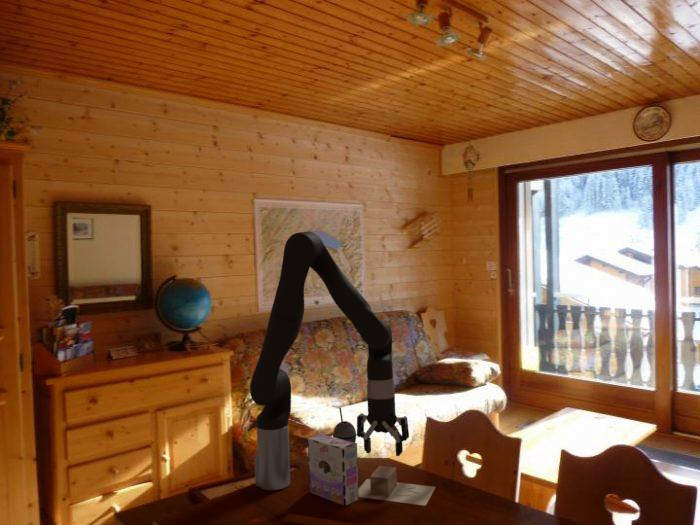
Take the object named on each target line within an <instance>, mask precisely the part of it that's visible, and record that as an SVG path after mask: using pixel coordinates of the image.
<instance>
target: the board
mask: <svg viewBox="0 0 700 525" xmlns="http://www.w3.org/2000/svg"><path fill="white" fill-rule="evenodd" d="M435 489H436V486H429V485H421V484H414V483H405V482H398V481H397V486H396V487H395V489H394V490H393V492H392V493H391V495H390V496H389V497H383V496H376V495H371V485H370V478H366V479H365V481H364V482H363V483H362V484H361V485H360V486H359V487H358V491H359V498H364V499H373V500H379V501H386V502H387V501H388V502H394V503H402V504H410V505H419V506H424V507H425V506H427V504H428V503H429V500H430V499H431V496H432V495H433V493H434V491H435Z"/></svg>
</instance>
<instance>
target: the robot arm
mask: <svg viewBox="0 0 700 525" xmlns="http://www.w3.org/2000/svg"><path fill="white" fill-rule="evenodd" d="M310 268H311V270H313V271H314V272H315V273H316V275H318V276H319V278H320V279H321V281H322V282H323V283H324V285H325V288H326V289H327V291H328V293H329V295H330V297H331V298H332V301H333V302H334V304H335V305H337V307H338V308H339V310H341V312H342V313H343V315H344V316H345V317H346V318H347V319H348V320H349V321H350V322H351V323H352V324H353V327H354V328H355V330H356V331H357V333H358V334H359V336H360V338H362V340H363V341H364V342H365V343H366V345H367V349H368V350H367V352H368V357H367V362H366V372H367V373H366V376H367V381H366V383H367V384H366V396H367V397H366V398H367V414H365V413H359V415H357V416H356V434H357V436H356V437H358V438H361V439H363V450H364V452H365V453H366V454H370V453H371V452H372V440H371V436H372V434H373V433H374V431H375V433H383V434H387V433H388V434H390V436H391V437H392V438H393V439H394V440H395V455H396V457H400V456H401V454H403V442H405V441H407V440H408V439H409V438H410V432H409V421H408V417H407V415H404V416H401V417H399V416H397V414H396V399H395V398H396V397H395V395H396V390H395V384H394V372H393V368H394V367H393V359H392V356H393V355H392V354H393V331H392V329H391V326H390V325H389V324H388V323H387V322H385V321H383V320H380V319H379V317H377V315H376V314H375V313H374V311H373V310H372V307H371V304H369V302H368V301H367V300H366V298H364V296H363V295H362V293H360V292H359V291H358V289H357V288H356V287H355V286H354V285H353V283H352V282H351V281H350V280H349V279H348V278H347V276H346V275H345V273H343V271H342V269H340V266H338V264H337V262H336V261H335V260H334V258H333V256H332V255H331V253H330V251H329V250H328V248H327V247H326V244H325V243H324V241H323V240H322V239H321V237H320V236H319V235H318V234H317V233H315V232H312V231H299V232H296V233H293V234H292V235H290V236H289V237H288V239H287V240H286V242H285V244H284V249H283V256H282V264H281V269H280V277H279V281H278V284H277V287H276V292H275V295H274V300H273V304H272V306H271V311H270V313H269V314H270V315H269V319H268V323H267V327H266V332H265V335H264V336H265V337H264V340H263V343H262V345H261V350H260V354H259V357H258V359H257V363H256V364H255V365H256V366H255V368H254V371H253V374H252V377H251V380H250V383H249V392H250V397H251V399H252V402H254V403H255V404H256V405H259V406H263V409H262V410H261V412H260V413H259V414H258V415H257V417H256V443H257V444H256V445H257V448H256V450H257V451H255V453H254V469H255V470H254V477H255V482H254V483H255V487H259V488H260V489H262V490H266V491H277V490H281V489H285V488H287V487H288V486H290V485H291V466H290V465H291V464H290V463H291V462H290V437H289V436H290V435H289V430H290V429H289V418H290V416H291V412H292V411H291V410H292V384H291V379H290V377H289V375H288V374H287V372H286V371H285V370H283V369H281V365H282V362H283V361H284V358H285V357H286V355H287V354H288V353H289V351H290V349H291V348H292V346H293V345H294V343H295V342H296V340H297V338H298V335H299V333H300V330H301V326H302V322H303V319H304V315H305V314H304V313H305V285H306V284H305V283H306V281H307V277H308V273H309V270H310ZM366 421H367V422H368V424H369V427H368V429H367V430H366V432H365V423H366ZM396 423H398V425H399V426H400V427H401V428H400V429H401V433H400V431H399V429H398V427H397V425H396Z"/></svg>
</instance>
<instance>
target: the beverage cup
mask: <svg viewBox="0 0 700 525" xmlns="http://www.w3.org/2000/svg"><path fill="white" fill-rule="evenodd" d="M338 408H339V409H338V410H339V416H340V422H338V423H337V424H336V425H335V427H334V428H333V434H332V437H335V438H339V439H343V440H347V441H350V442H354V443H357V442H356V440H357V437H358V436H357V429H356V428H355V426H354V425H353V424H352V423H351V422H349V421H346V420H345V421H344V419H343V413H342V407H338Z"/></svg>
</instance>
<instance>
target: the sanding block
mask: <svg viewBox="0 0 700 525" xmlns="http://www.w3.org/2000/svg"><path fill="white" fill-rule="evenodd" d="M397 476H398V474H397V467H396V466H385V465H378V467H377V468H376V469H375V470H374V471H373V473H372V474H371V475H370V478H369V479H370V485H371V495H376V496H383V497H389V496H390V495H391V493H392V492H393V490H394V489H395V487H396V486H397V482H398V480H397V479H398V478H397Z"/></svg>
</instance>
